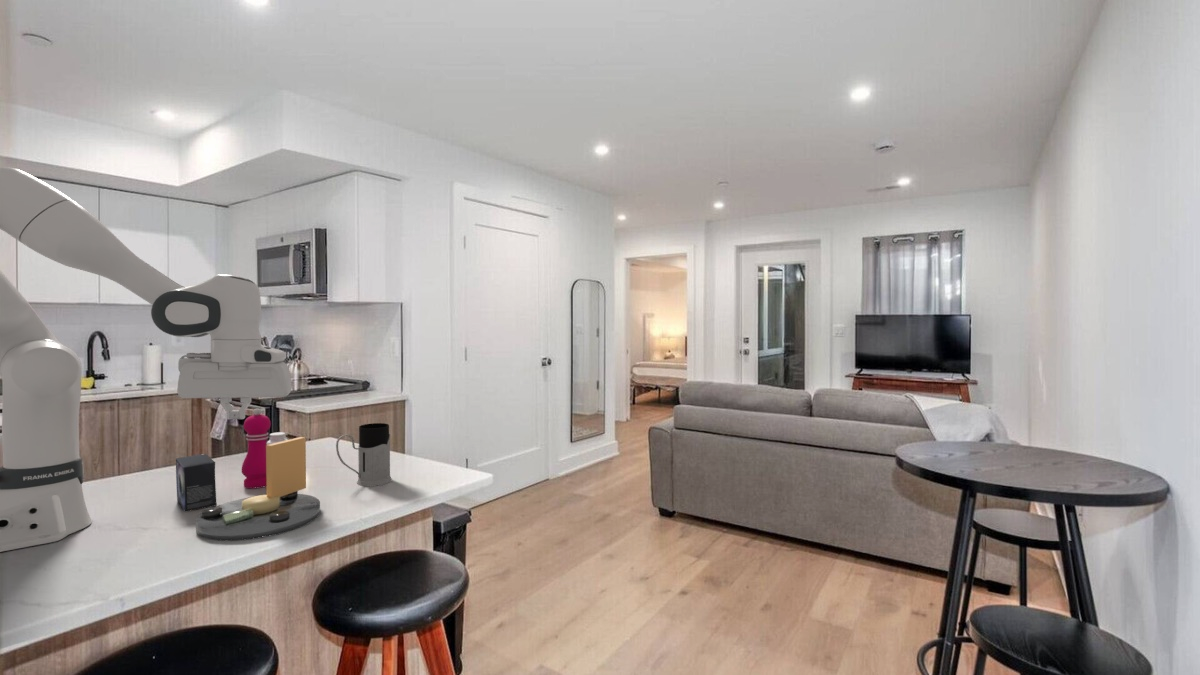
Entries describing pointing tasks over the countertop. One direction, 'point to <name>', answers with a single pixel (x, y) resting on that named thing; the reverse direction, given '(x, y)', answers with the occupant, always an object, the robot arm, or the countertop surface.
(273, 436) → the supplement bottle
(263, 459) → the pepper mill
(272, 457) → the tan slab with dome
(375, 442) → the glass holder
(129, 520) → the countertop surface
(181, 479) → the small box
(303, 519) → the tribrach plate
